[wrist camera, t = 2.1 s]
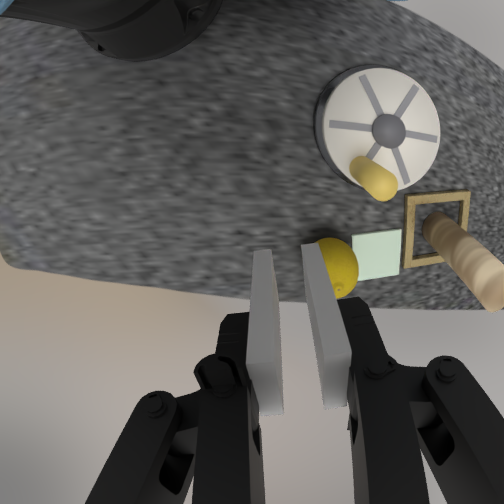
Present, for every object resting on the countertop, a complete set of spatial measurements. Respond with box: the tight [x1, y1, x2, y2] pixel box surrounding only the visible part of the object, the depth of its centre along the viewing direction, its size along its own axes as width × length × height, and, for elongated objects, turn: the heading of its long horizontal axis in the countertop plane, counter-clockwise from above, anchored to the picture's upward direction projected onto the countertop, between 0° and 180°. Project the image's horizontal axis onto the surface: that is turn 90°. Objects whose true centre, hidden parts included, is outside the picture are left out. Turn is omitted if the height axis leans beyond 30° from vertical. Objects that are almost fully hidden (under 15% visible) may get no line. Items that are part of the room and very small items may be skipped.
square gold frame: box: [402, 189, 471, 269], centre depth 32 cm, size 9×9×1 cm
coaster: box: [351, 228, 401, 281], centre depth 34 cm, size 6×6×1 cm
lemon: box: [315, 238, 359, 299], centre depth 30 cm, size 6×6×8 cm
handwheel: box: [322, 68, 440, 201], centre depth 23 cm, size 12×12×8 cm
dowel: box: [422, 212, 504, 312], centre depth 26 cm, size 4×4×14 cm
